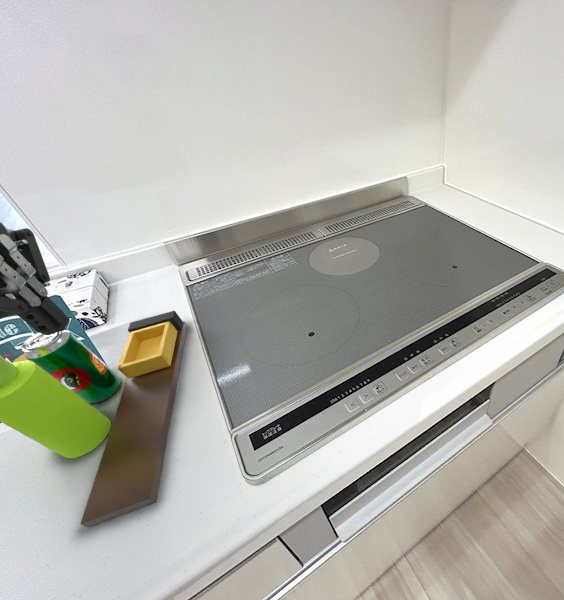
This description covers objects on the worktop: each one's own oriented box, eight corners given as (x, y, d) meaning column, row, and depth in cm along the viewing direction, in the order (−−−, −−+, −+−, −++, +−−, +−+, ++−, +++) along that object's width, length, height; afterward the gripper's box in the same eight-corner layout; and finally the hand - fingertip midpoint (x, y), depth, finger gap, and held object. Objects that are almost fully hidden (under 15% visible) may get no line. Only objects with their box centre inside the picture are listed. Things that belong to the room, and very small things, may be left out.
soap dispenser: (108, 404, 49) (-16, 305, 36) (113, 438, 45) (-25, 340, 32) (60, 429, 47) (-93, 334, 33) (61, 468, 42) (-114, 376, 29)
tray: (170, 365, 52) (161, 355, 50) (128, 378, 50) (117, 368, 49) (177, 331, 57) (169, 320, 56) (139, 342, 56) (130, 331, 54)
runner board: (155, 501, 38) (149, 498, 38) (87, 527, 37) (80, 524, 36) (187, 325, 61) (184, 320, 60) (145, 337, 59) (141, 332, 58)
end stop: (182, 329, 58) (173, 317, 56) (138, 342, 57) (127, 330, 55) (183, 322, 60) (174, 310, 58) (141, 334, 58) (130, 322, 56)
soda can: (129, 384, 52) (71, 332, 44) (94, 410, 48) (25, 359, 40) (113, 372, 54) (55, 320, 46) (78, 396, 51) (10, 345, 43)
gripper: (-110, 157, 30) (45, 302, 41) (-279, 221, 20) (-16, 387, 31) (-10, 141, 31) (112, 285, 42) (-122, 193, 21) (74, 361, 33)
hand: (58, 328), depth 37 cm, fingers closed
